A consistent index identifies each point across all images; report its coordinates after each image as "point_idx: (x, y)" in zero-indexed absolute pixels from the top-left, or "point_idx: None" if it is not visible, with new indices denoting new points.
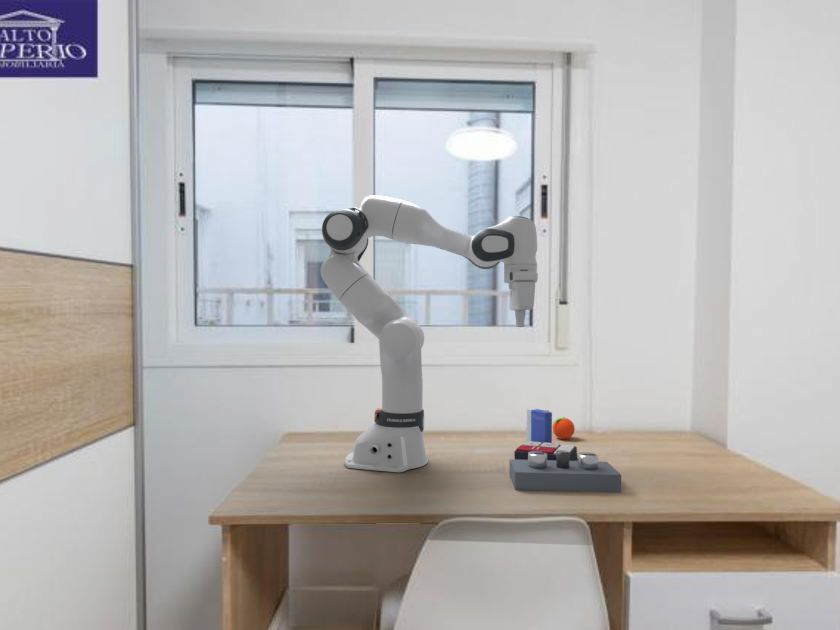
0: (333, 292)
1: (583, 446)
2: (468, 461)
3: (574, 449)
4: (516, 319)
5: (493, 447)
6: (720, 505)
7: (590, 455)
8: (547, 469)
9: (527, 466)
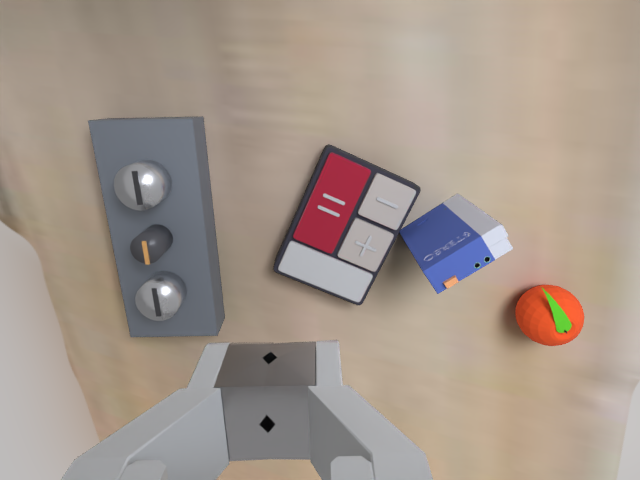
0: None
1: (458, 330)
2: (305, 9)
3: (333, 295)
4: (316, 396)
5: (450, 96)
6: None
7: (152, 305)
8: None
9: (141, 157)
